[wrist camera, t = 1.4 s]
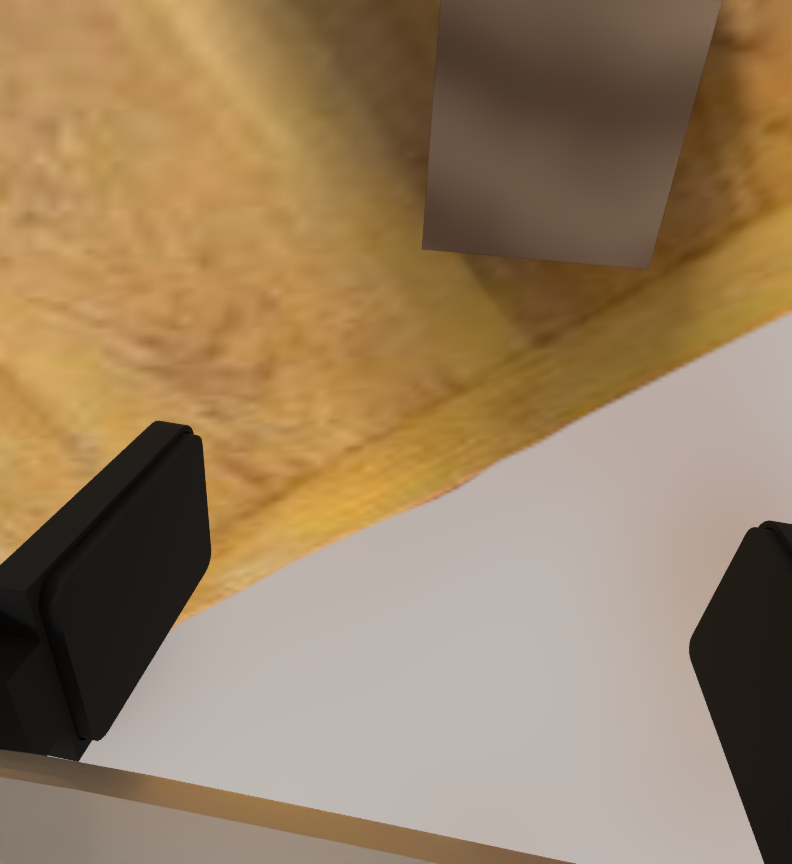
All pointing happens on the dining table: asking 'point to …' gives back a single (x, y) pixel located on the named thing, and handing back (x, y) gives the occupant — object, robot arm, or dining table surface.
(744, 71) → the dining table surface
